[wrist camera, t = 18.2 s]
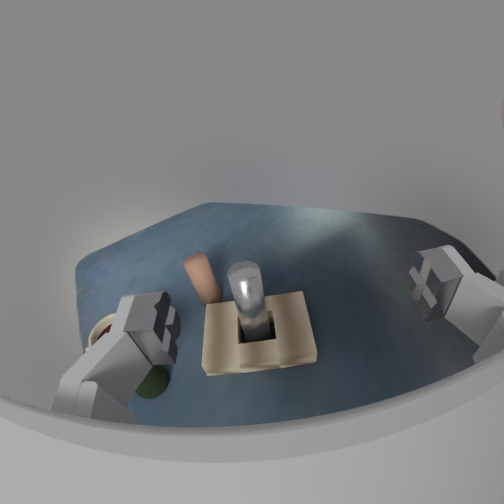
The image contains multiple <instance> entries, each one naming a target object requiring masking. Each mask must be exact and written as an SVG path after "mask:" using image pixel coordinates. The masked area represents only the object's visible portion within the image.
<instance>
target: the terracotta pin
mask: <svg viewBox="0 0 504 504" xmlns="http://www.w3.org/2000/svg"><path fill="white" fill-rule="evenodd" d="M184 266H185V268H186V271H187V273H188V275H189V277H190V279H191V281H192V283H193V286H194V288H195V290H196V292H197V294H198V296H199V298H200V300H201V302H202V304H203V305H204V306H206V304H213V303H219V302H220V301H221V299H222V294H221V291H220V289H219V287H218V284H217V282H216V279H215V277H214V274H213V272H212V269H211V267H210V264H209V262H208V259H207V257H206V255H205V254H203V253H196V254H193V255H191V256H189V257H188V258H187V259H186V260H185V261H184Z"/></svg>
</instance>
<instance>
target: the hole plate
mask: <svg viewBox="0 0 504 504" xmlns="http://www.w3.org/2000/svg"><path fill="white" fill-rule="evenodd" d="M265 302H266V308H267V313H268V319H269V323H274V325H275V332H276V339H272V340H265V341H257V342H249V343H241V327H242V324H241V321H240V318H239V314H238V311H237V307H236V304H235V301H229V302H221V303H213V304H206V315H205V327H204V340H203V353H202V367H203V369H204V371H205V372H206V374H207V376H210V375H224V374H235V373H245V372H255V371H263V370H271V369H278V368H285V367H292V366H298V365H304V364H310V363H315V362H316V361H317V349H316V345H315V341H314V336H313V332H312V328H311V324H310V320H309V315H308V311H307V307H306V303H305V299H304V295H303V291H298V292H292V293H285V294H279V295H272V296H265Z"/></svg>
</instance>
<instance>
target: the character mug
mask: <svg viewBox="0 0 504 504" xmlns="http://www.w3.org/2000/svg"><path fill="white" fill-rule="evenodd" d="M115 314H116V313H112V314H109V315H107V316H105V317H103V318H102V319H101V320H100V321H99V322H97V323H96V325H95V326H94V327H93V329H92V330H91V333H90V335H89V338H88V341H89V347H87V348H86V349H85V350H86V352H87V351H88V350H89V349H90V348H91V347H92V346H93V345H94V344H95V343H96V342H97V341H98V340H99V339H100V338H101V337H102V336H103V335H104V334H105V333H109V332H110V329H111V326H112V323H113V320H114V317H115ZM152 366H153V367H152V368H151V370H150V371H149V372H148V374H147V375H146V377H145V378H144V379H143V381H142V382H141V384H140V385H139V386H138V388H137V389H136V391H135V392H136V393H137V394H138V395H139V396H140V397H144V398H147V399H149V398H154V397H157V396H158V395H160V394H161V393H162V392H163V391H164V389H165V387H166V386H167V383H168V374H167V371H166V369H165V368H164V367H163V366H162V365H152Z"/></svg>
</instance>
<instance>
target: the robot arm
mask: <svg viewBox="0 0 504 504" xmlns="http://www.w3.org/2000/svg"><path fill="white" fill-rule="evenodd" d="M502 121H503V127H504V101H503V106H502ZM411 262H412V264H413V267H412V269H411V270H410V271H409V273H408V277H407V285H408V290H409V293H410V295H411V296H412V298H413V299H415V300H416V301H418V302H419V303H418V309H419V311H420V313H421V314H422V316H423V318H424V320H425V322H426V321H430V320H434V319H437V318H440V317H444V316H445V317H444V318H446V319H447V320H448V321H449V322H451V323H452V324H453V325H455V326H456V327H457V328H458V329H459V330H461V331H462V332H463V333H464V334H466V335H467V336H468V337H469V338H471V339H472V340H473V341H474V342H475V343H477V344H478V345H479V346H480V347H479V348H478V350H477V351H476V353H475V354H474V356H473V360H474V362H475V365H473V366H471V367H469V368H467V369H464V370H462V371H460V372H458V373H456V374H453V375H451V376H449V377H447V378H444V379H442V380H439V381H437V382H434V383H432V384H429V385H427V386H424V387H421V388H419V389H416V390H413V391H410V392H407V393H404V394H401V395H398V396H395V397H392V398H389V399H386V400H382V401H379V402H375V403H372V404H368V405H365V406H361V407H357V408H353V409H349V410H344V411H340V412H335V413H331V414H326V415H321V416H315V417H310V418H304V419H297V420H291V421H284V422H276V423H267V424H257V425H245V426H229V427H163V426H147V425H136V417H135V415H134V414H133V413H131V412H130V411H129V410H128V409H126V408H125V407H124V406H125V405H126V404H127V402H128V401H129V399H130V398H131V396H132V395H133V394H134V392H135V391H136V389H137V388H138V386H139V385H140V384H141V382H142V381H143V379H144V378H145V377H146V375H147V374H148V372H149V371H150V370H151V368H152V367H153V366H152V365H166V364H176V357H177V350H178V346H177V345H176V343H175V341H176V339H177V338H178V337H179V336H180V319H179V316H178V313H177V311H176V309H175V308H173V307H172V306H170V302H171V299H170V297H169V295H168V293H167V292H165V291H162V292H151V293H140V294H133V295H124V296H123V297H122V298H121V301H120V304H119V306H118V309H117V312H116V314H115V317H114V320H113V323H112V326H111V329H110V332H109V333H105V334H104V335H103V336H102V337H101V338H100V339H99V340H98V341H97V342H96V343H95V344H94V345H93V346H92V347H91V348H90V349H89V350H88V351H87V352H86V353H85V354H84V355H83V356H82V357H81V358H80V359H79V360H78V361H77V362H76V363H75V364H74V365H73V366H72V367H71V368H70V369H69V370H68V371H67V372H66V373H65V374H64V375H63V376H62V378H61V380H60V384H59V387H58V390H57V393H56V396H55V400H54V403H53V407H52V410H49V409H45V408H42V407H38V406H34V405H31V404H27V403H24V402H21V401H18V400H15V399H12V398H9V397H6V396H4V395H1V394H0V504H504V267H503V268H502V269H501V271H500V273H499V275H498V277H497V278H496V280H495V282H494V281H492V280H490V279H489V278H487V277H485V276H483V275H481V274H479V273H474V271H473V270H472V269H471V268H470V266H469V265H468V264H467V263H466V262H465V260H464V259H463V258H462V257H461V256H460V254H459V253H458V252H457V251H456V250H455V249H454V247H453V246H451V245H446V246H441V247H438V248H433V249H428V250H423V251H418V252H415V253H414V255H413V257H412V261H411Z"/></svg>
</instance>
